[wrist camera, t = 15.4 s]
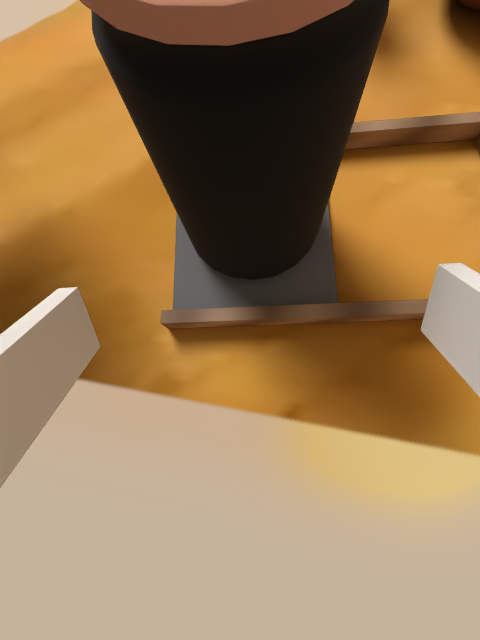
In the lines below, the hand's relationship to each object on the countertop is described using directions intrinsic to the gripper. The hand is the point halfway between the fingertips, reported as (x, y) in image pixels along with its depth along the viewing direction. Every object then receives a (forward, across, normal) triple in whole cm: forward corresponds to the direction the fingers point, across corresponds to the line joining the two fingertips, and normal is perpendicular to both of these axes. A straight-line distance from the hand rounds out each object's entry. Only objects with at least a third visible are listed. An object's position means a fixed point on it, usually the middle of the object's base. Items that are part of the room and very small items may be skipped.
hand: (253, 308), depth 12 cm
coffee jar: (+16, 0, -1) cm, 16 cm away
